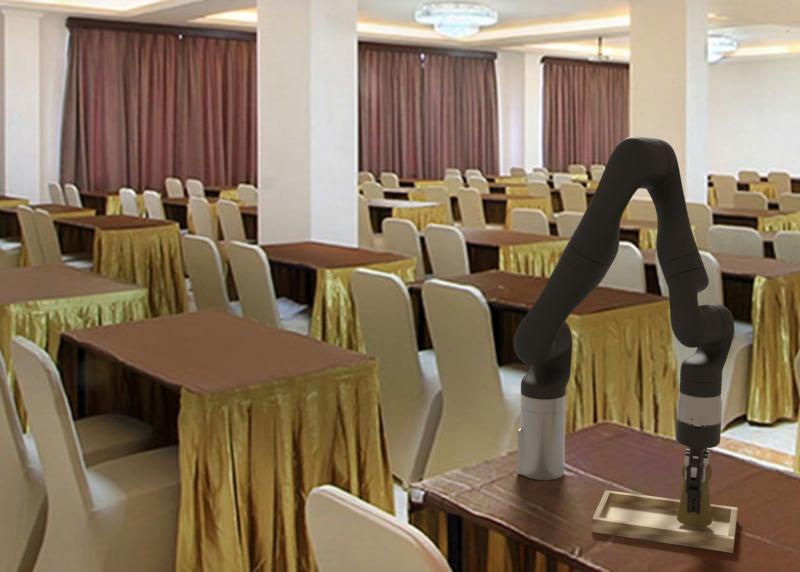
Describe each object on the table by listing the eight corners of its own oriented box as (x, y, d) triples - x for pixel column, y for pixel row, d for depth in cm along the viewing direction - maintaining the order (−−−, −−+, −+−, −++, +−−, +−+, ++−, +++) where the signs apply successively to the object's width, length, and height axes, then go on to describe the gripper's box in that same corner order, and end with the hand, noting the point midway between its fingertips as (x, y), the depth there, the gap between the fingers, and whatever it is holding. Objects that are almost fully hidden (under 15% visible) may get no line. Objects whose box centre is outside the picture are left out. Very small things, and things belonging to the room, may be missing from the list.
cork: (671, 513, 174) (674, 456, 172) (703, 512, 175) (706, 455, 173) (684, 527, 168) (687, 468, 166) (717, 526, 169) (720, 467, 167)
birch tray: (591, 531, 172) (592, 518, 171) (605, 502, 184) (605, 490, 184) (733, 552, 163) (733, 539, 162) (736, 520, 176) (737, 507, 175)
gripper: (680, 403, 176) (676, 491, 179) (672, 426, 163) (668, 521, 166) (723, 407, 173) (718, 496, 176) (718, 431, 160) (713, 527, 163)
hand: (694, 508), depth 171 cm, fingers closed on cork, 4 cm apart
